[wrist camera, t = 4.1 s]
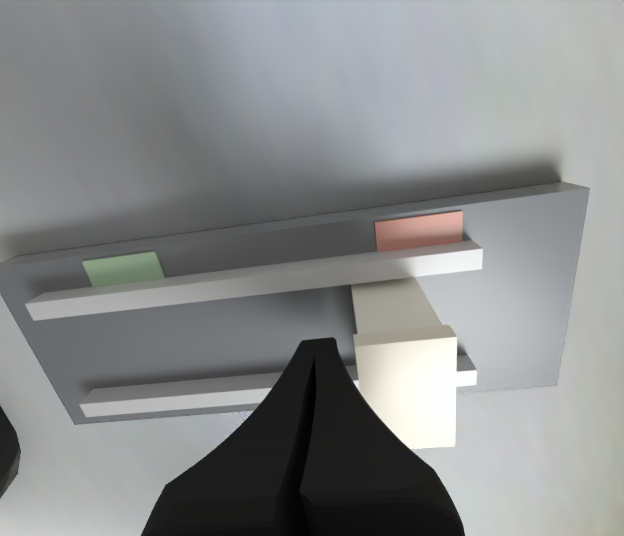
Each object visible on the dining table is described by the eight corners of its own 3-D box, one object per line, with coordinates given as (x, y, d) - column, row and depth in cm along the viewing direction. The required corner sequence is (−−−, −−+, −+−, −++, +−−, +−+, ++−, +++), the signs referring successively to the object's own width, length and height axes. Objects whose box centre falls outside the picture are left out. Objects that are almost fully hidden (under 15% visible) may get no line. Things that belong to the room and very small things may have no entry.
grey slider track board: (538, 364, 17) (571, 402, 14) (93, 403, 19) (60, 441, 17) (562, 181, 13) (611, 193, 11) (16, 256, 16) (-38, 278, 13)
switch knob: (420, 358, 15) (455, 446, 11) (356, 364, 15) (367, 451, 11) (417, 272, 13) (457, 336, 9) (346, 280, 13) (354, 346, 9)
